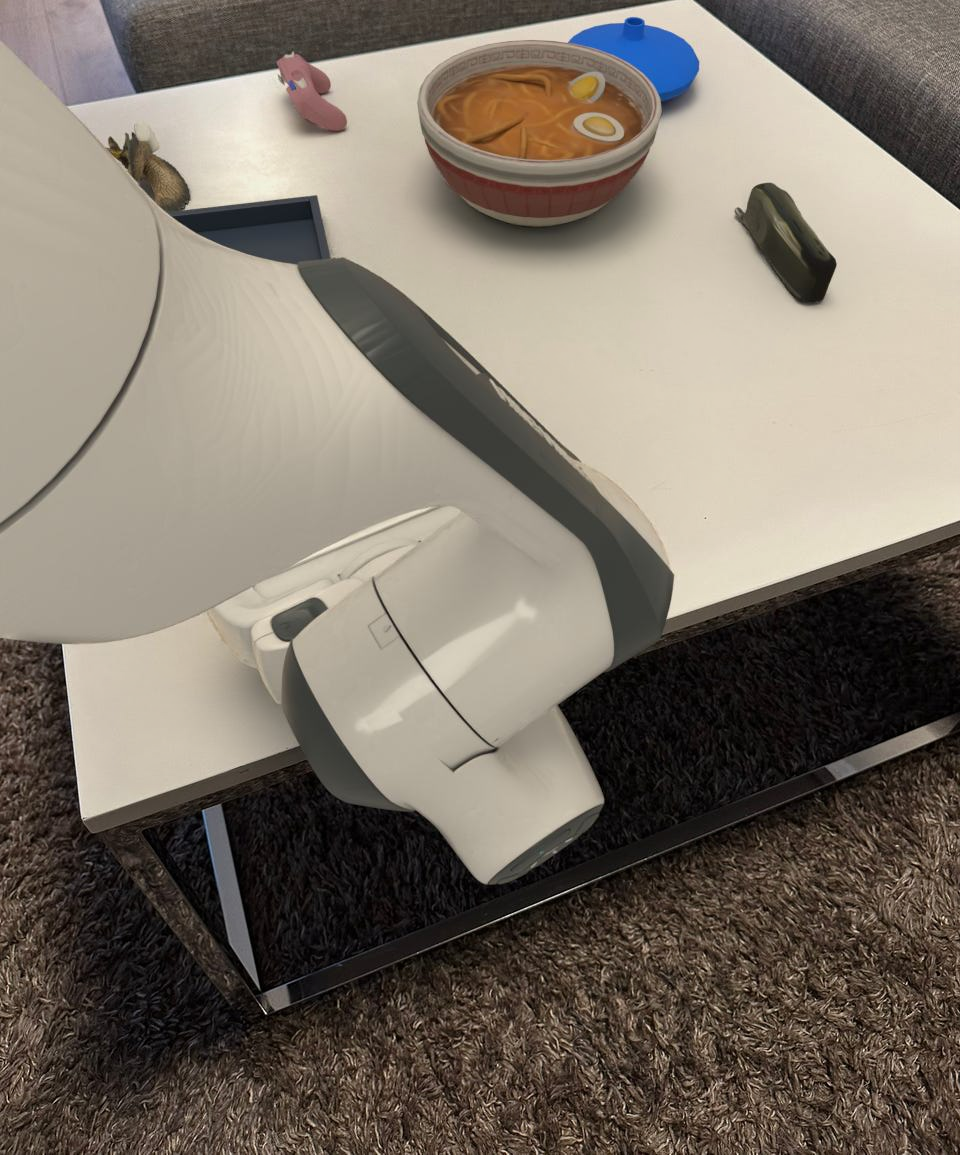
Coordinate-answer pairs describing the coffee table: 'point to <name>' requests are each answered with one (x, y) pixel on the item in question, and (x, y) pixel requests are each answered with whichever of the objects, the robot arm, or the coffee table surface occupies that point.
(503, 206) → the bowl
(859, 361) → the coffee table surface
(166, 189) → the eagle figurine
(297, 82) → the video game controller
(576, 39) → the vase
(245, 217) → the tray
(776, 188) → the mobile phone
